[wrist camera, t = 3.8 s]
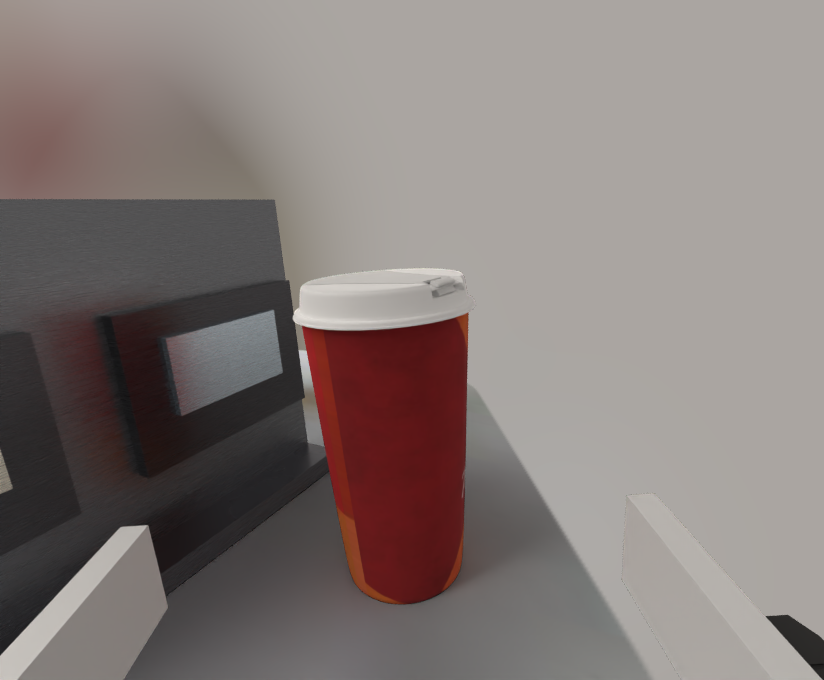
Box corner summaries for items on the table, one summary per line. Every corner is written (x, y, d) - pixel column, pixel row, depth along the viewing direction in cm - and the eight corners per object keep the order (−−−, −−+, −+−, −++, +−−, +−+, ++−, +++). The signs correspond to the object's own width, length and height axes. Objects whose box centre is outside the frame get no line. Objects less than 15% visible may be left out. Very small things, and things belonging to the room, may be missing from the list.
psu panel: (-379, 807, 15) (-793, 218, 10) (256, 444, 36) (216, 206, 32) (-368, 1003, 11) (-1035, 183, 6) (336, 464, 32) (304, 196, 28)
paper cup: (511, 543, 24) (507, 266, 20) (422, 658, 18) (394, 297, 14) (393, 496, 28) (373, 265, 25) (292, 575, 22) (246, 288, 19)
